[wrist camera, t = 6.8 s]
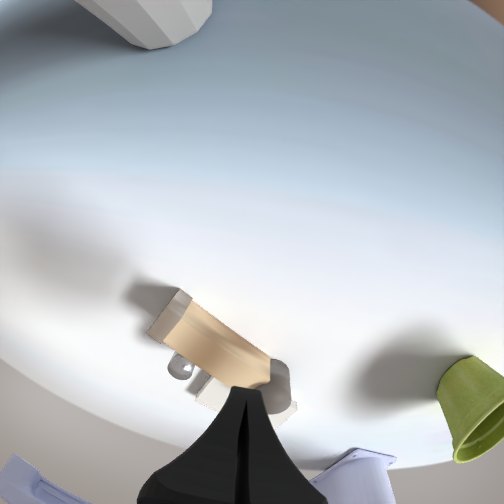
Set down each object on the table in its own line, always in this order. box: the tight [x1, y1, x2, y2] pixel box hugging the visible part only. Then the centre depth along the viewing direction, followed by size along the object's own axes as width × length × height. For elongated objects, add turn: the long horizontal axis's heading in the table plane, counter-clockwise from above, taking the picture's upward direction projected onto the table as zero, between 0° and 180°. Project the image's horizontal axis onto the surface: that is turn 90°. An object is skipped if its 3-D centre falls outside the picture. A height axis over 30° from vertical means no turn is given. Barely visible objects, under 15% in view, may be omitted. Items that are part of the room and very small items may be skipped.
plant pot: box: [436, 356, 504, 463], centre depth 18 cm, size 9×9×9 cm
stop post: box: [168, 351, 195, 380], centre depth 21 cm, size 2×2×4 cm
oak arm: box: [147, 289, 291, 415], centre depth 20 cm, size 12×3×4 cm, turn 50°
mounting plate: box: [195, 376, 297, 431], centre depth 23 cm, size 4×8×1 cm, turn 58°
